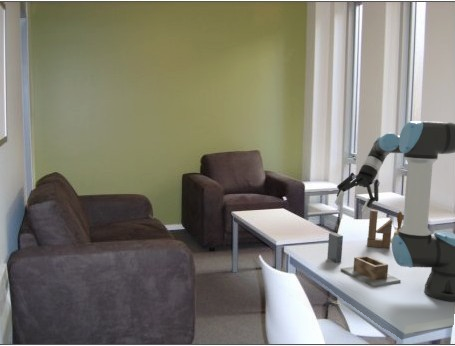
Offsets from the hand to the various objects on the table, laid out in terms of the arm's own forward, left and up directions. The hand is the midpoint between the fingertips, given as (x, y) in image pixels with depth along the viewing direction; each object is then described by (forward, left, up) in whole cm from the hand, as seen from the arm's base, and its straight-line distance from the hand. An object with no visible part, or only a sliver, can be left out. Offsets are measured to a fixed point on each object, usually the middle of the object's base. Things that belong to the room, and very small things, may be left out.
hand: (349, 208), depth 231 cm
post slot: (-21, +5, -24) cm, 32 cm away
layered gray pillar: (+1, +6, -24) cm, 24 cm away
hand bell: (+13, -44, -24) cm, 52 cm away
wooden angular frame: (+11, -29, -24) cm, 40 cm away
